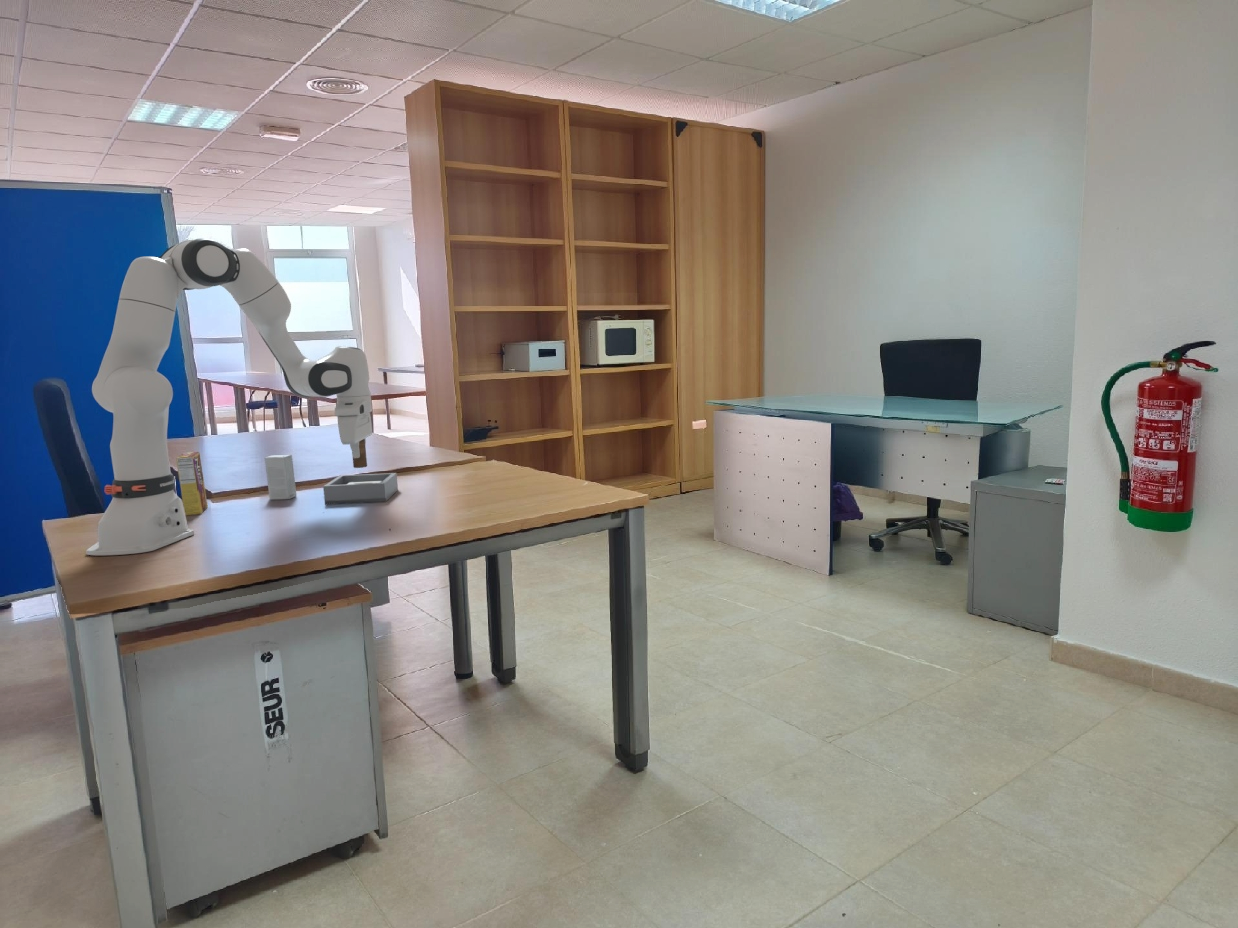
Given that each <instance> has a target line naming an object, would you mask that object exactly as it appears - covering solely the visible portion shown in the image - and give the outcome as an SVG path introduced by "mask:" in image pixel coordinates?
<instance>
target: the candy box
mask: <svg viewBox="0 0 1238 928" xmlns="http://www.w3.org/2000/svg"><path fill="white" fill-rule="evenodd" d="M175 461H176V465H177V474H178V480H179V486H180V495H181V500H182V502H183V507H184V511H185V516H193V515H194V516H195V515H202V514H203V512H205V511H206V510H207V509H208V499H207V494H206V493H207V492H206V486H205V481H204V473H203V468H202V461H201V455H200V451H193V452H191V451H190V452H183V453H182V454H181V455H178V456H177V457H176V458H175Z"/></svg>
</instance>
